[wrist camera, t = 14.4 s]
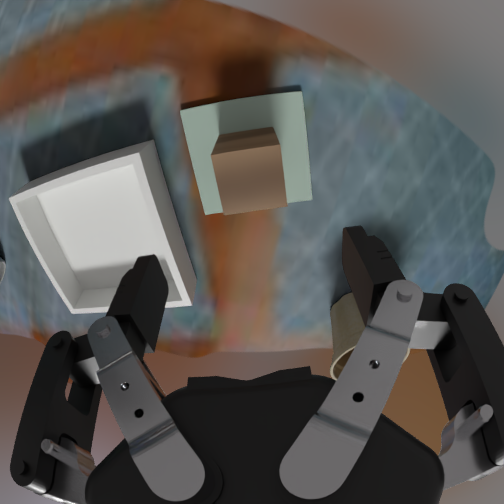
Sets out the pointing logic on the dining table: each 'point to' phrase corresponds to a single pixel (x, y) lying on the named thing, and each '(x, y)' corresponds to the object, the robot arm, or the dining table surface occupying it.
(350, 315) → the flower pot
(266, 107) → the sage mat
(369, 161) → the dining table surface
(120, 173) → the white bin
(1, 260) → the ceramic mug
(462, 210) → the dining table surface
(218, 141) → the walnut block
